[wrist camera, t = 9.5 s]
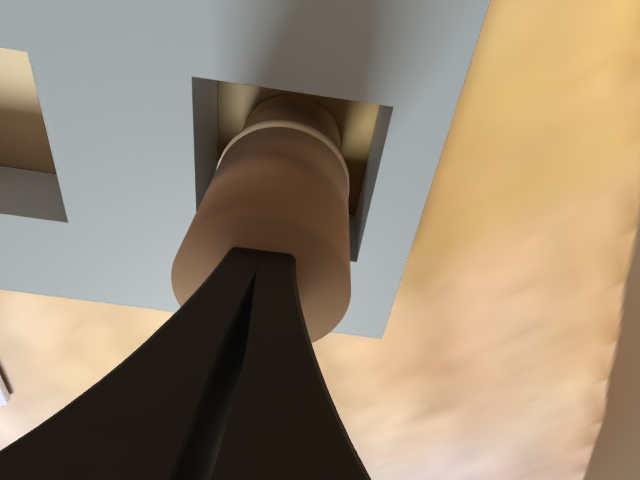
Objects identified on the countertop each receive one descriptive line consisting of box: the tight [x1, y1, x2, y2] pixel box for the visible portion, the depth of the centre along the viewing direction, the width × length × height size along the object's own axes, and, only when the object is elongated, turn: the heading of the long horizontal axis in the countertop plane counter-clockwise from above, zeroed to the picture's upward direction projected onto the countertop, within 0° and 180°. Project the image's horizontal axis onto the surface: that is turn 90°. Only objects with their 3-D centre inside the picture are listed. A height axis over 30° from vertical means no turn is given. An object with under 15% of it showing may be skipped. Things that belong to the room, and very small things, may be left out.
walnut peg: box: [171, 94, 351, 343], centre depth 13 cm, size 4×4×8 cm
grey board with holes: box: [0, 0, 491, 339], centre depth 15 cm, size 19×13×3 cm
